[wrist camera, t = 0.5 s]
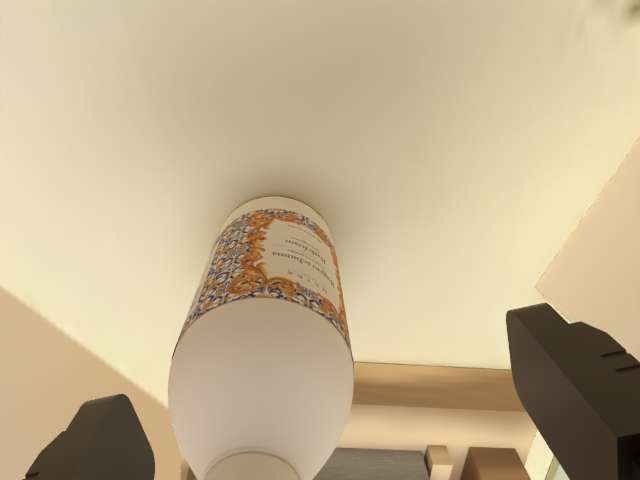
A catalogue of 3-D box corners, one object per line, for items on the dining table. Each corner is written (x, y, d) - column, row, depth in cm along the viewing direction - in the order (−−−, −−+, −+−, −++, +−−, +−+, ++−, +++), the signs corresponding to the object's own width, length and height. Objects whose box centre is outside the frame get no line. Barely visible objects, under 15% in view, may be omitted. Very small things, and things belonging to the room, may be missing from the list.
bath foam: (356, 230, 29) (454, 581, 11) (295, 316, 31) (292, 725, 13) (253, 170, 27) (165, 468, 9) (197, 265, 30) (35, 657, 11)
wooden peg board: (192, 353, 32) (161, 451, 25) (516, 370, 34) (576, 466, 27) (193, 484, 37) (168, 598, 30) (477, 493, 39) (519, 603, 31)
